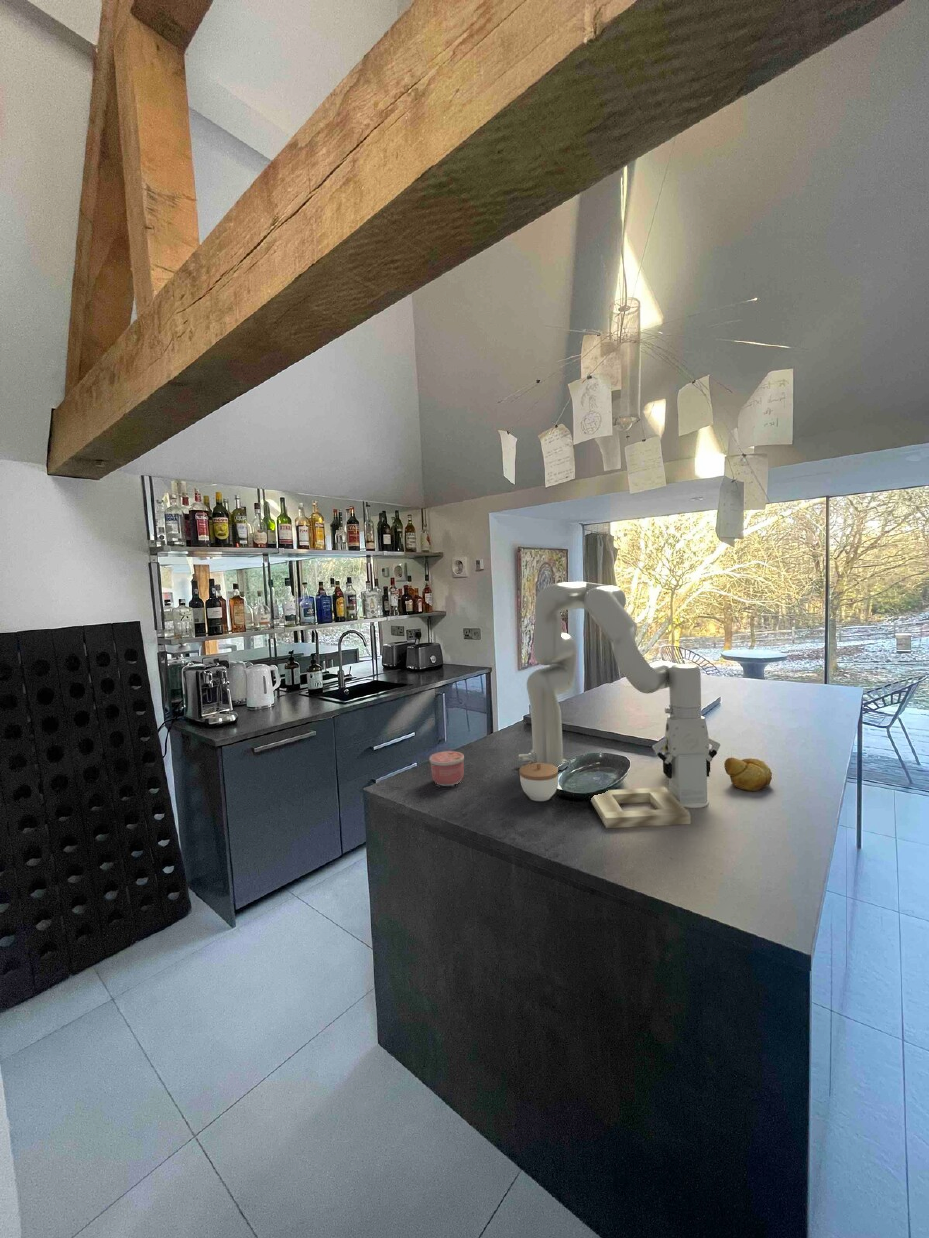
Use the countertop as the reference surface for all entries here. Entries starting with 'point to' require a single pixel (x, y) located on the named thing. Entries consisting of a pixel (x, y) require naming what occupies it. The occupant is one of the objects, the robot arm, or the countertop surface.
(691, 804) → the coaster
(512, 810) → the countertop surface
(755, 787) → the bread roll
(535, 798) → the lidded jar
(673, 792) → the supplement box
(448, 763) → the container
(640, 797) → the board
